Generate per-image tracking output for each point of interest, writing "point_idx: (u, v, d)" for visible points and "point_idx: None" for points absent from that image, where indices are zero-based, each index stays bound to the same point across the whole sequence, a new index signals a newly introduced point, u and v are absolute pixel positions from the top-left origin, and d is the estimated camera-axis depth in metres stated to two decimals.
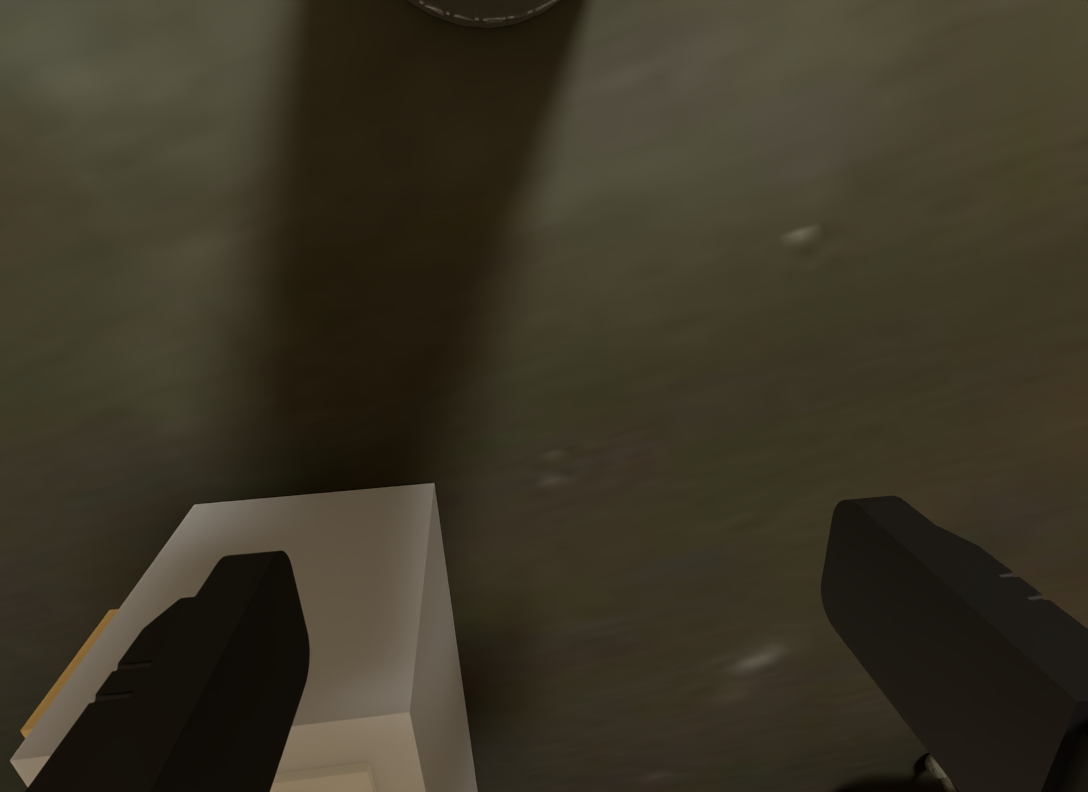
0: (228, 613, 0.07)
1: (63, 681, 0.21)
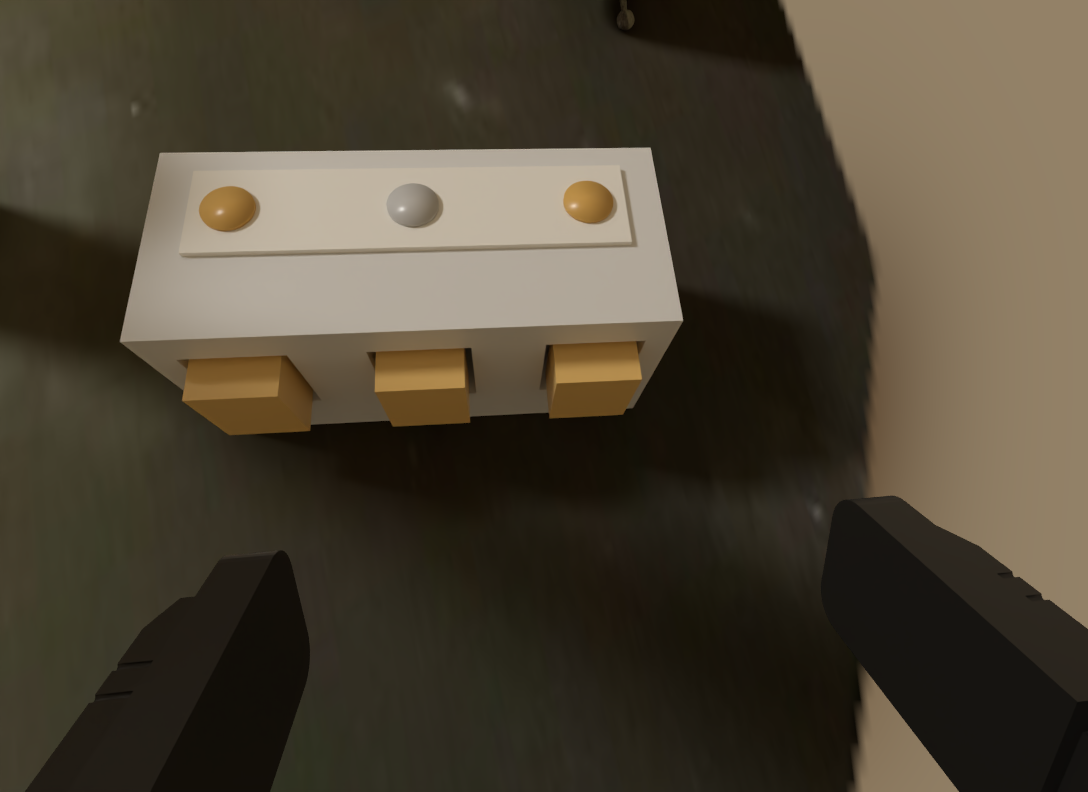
0: (228, 613, 0.07)
1: None
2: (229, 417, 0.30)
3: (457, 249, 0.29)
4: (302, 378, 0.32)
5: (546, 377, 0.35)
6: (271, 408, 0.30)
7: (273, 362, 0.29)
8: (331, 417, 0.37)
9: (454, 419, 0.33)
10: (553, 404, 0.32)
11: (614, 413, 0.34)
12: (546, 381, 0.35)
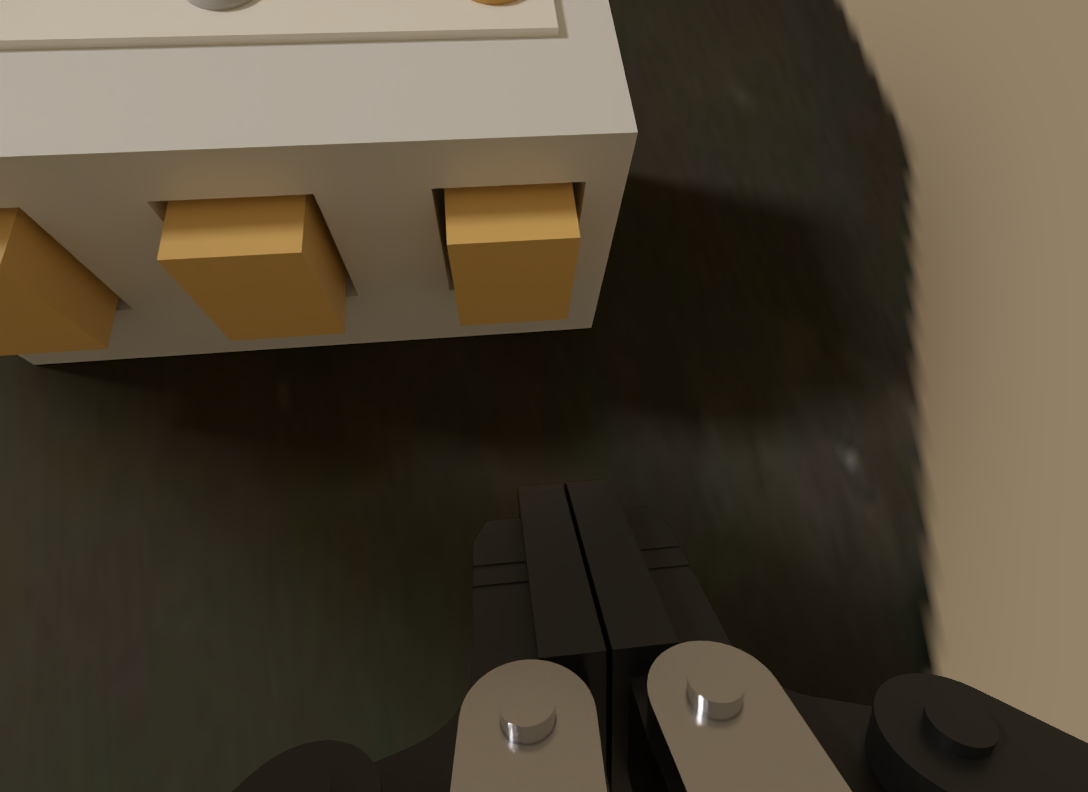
0: (560, 525, 0.08)
1: None
2: None
3: (286, 41, 0.19)
4: None
5: None
6: (9, 296, 0.19)
7: (2, 221, 0.19)
8: (166, 343, 0.26)
9: (317, 326, 0.23)
10: (457, 293, 0.22)
11: (554, 316, 0.24)
12: None
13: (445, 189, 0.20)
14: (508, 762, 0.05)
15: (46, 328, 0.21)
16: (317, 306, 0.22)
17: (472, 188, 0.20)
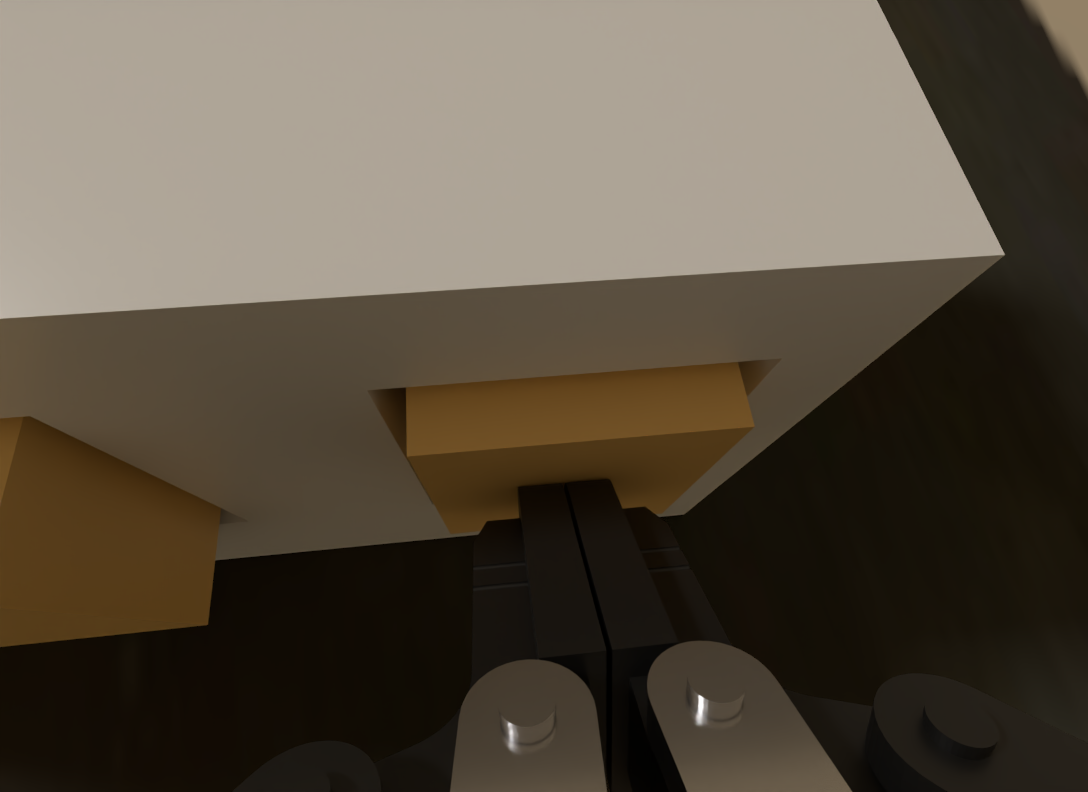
0: (560, 525, 0.08)
1: None
2: None
3: None
4: None
5: None
6: None
7: None
8: None
9: (139, 628, 0.10)
10: (441, 508, 0.10)
11: None
12: None
13: None
14: (508, 762, 0.05)
15: None
16: (114, 622, 0.09)
17: None
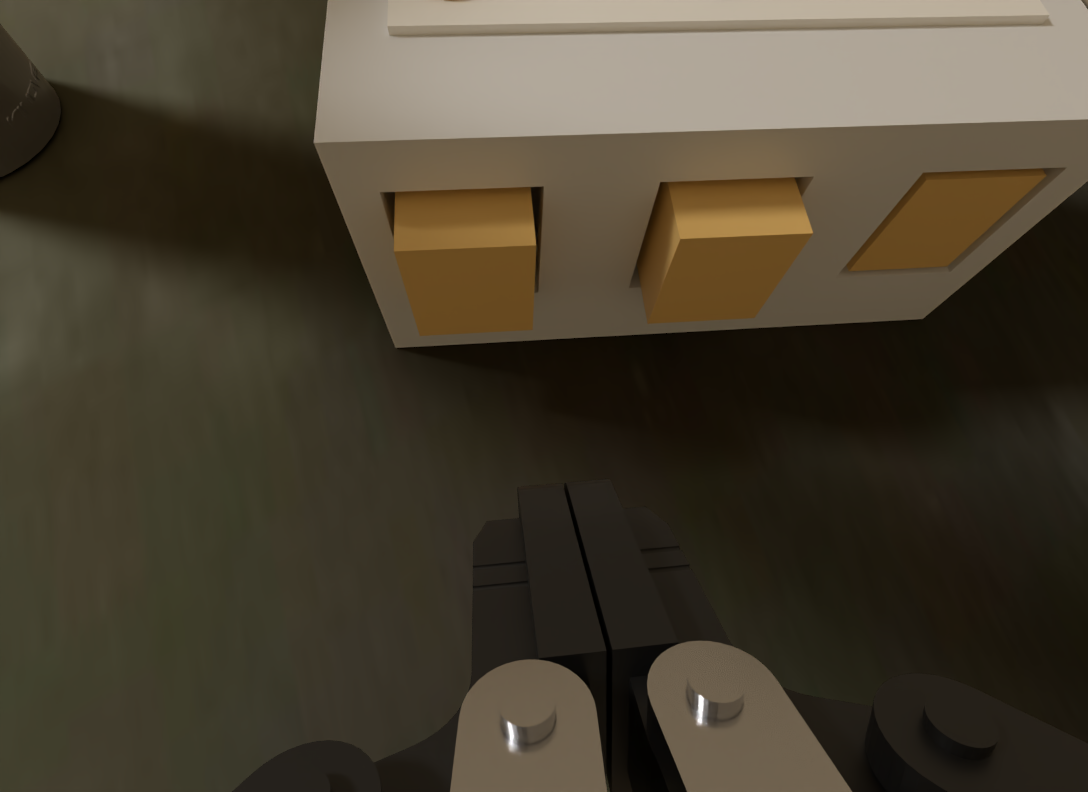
0: (560, 525, 0.08)
1: (404, 280, 0.20)
2: (440, 295, 0.20)
3: (792, 27, 0.19)
4: None
5: None
6: (511, 273, 0.20)
7: (520, 200, 0.19)
8: None
9: (739, 310, 0.23)
10: (881, 235, 0.23)
11: (938, 263, 0.25)
12: None
13: None
14: (508, 762, 0.05)
15: (505, 307, 0.21)
16: (762, 289, 0.22)
17: None
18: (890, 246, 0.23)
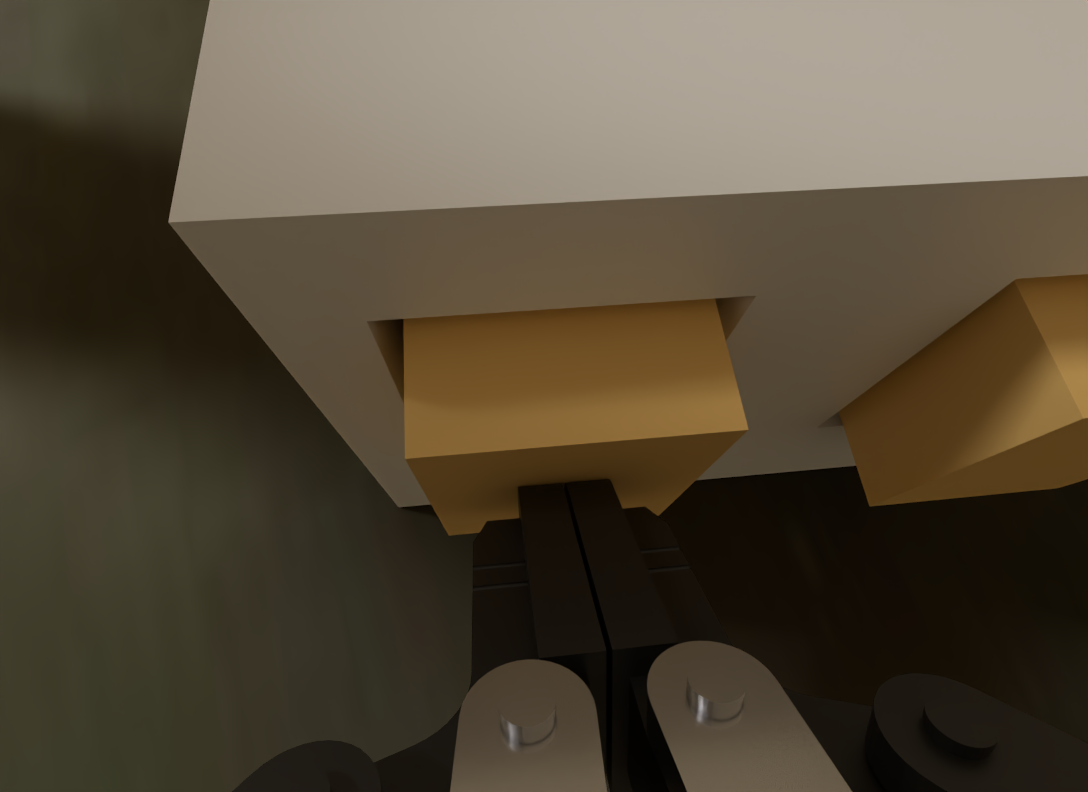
0: (560, 525, 0.08)
1: None
2: (500, 498, 0.10)
3: None
4: None
5: None
6: (664, 466, 0.09)
7: (693, 310, 0.08)
8: None
9: (1046, 483, 0.12)
10: None
11: None
12: None
13: None
14: (508, 762, 0.05)
15: (623, 500, 0.11)
16: None
17: None
18: None
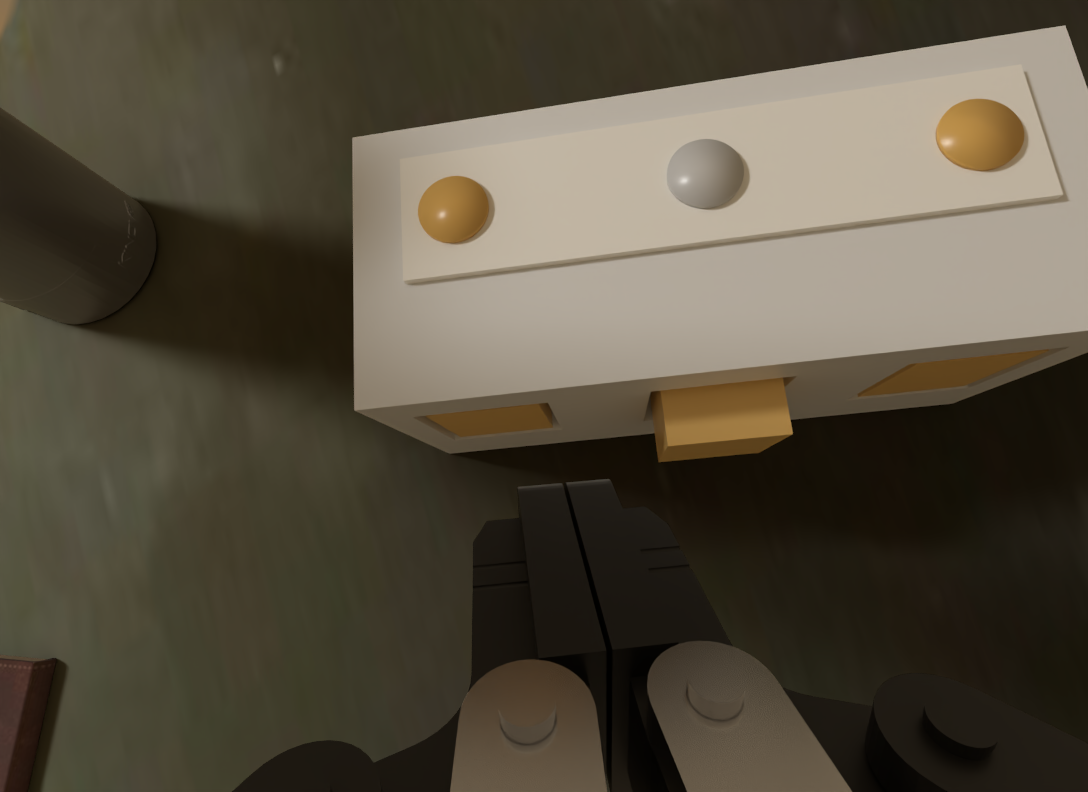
0: (560, 525, 0.08)
1: None
2: (470, 424, 0.25)
3: (777, 235, 0.20)
4: None
5: None
6: (523, 413, 0.24)
7: None
8: (563, 439, 0.30)
9: (742, 452, 0.25)
10: (883, 384, 0.24)
11: (953, 386, 0.25)
12: None
13: None
14: (508, 762, 0.05)
15: (525, 423, 0.26)
16: (759, 447, 0.24)
17: None
18: (895, 386, 0.24)
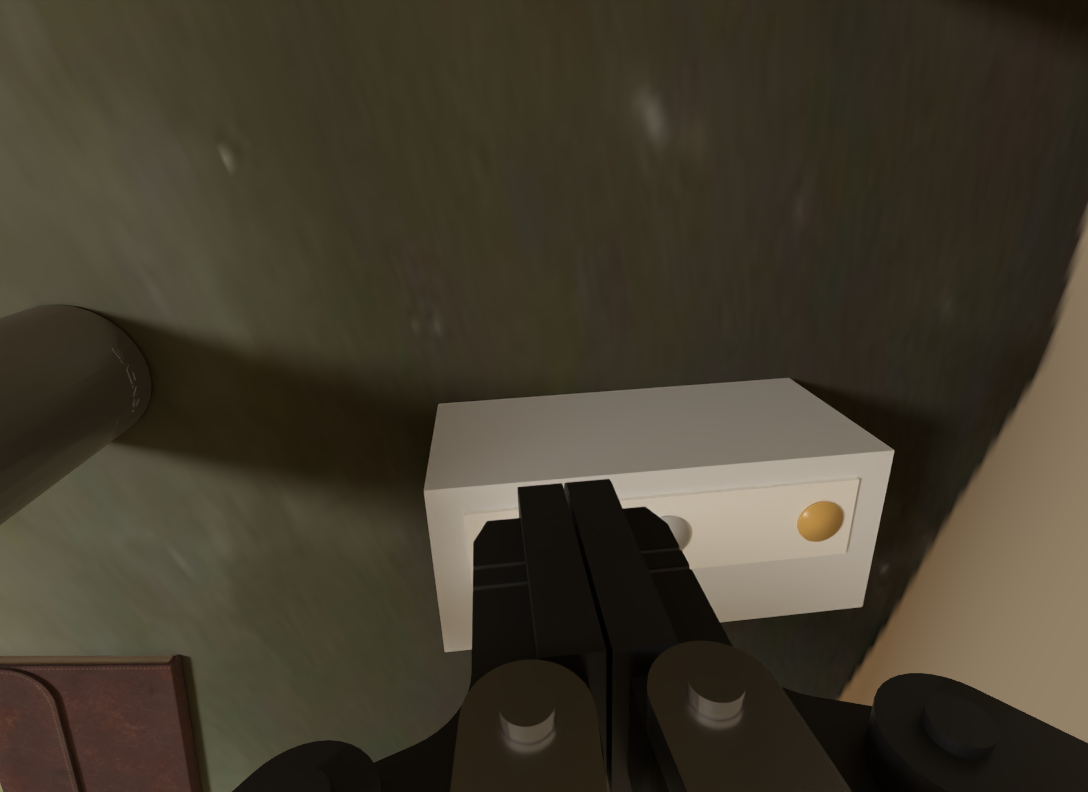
0: (560, 525, 0.08)
1: None
2: None
3: (698, 564, 0.34)
4: None
5: None
6: None
7: None
8: None
9: None
10: None
11: None
12: None
13: None
14: (508, 762, 0.05)
15: None
16: None
17: None
18: None
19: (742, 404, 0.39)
